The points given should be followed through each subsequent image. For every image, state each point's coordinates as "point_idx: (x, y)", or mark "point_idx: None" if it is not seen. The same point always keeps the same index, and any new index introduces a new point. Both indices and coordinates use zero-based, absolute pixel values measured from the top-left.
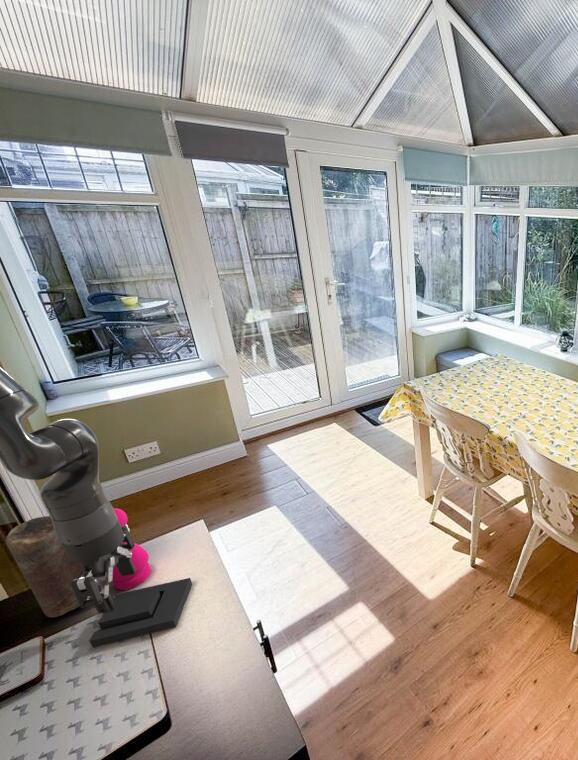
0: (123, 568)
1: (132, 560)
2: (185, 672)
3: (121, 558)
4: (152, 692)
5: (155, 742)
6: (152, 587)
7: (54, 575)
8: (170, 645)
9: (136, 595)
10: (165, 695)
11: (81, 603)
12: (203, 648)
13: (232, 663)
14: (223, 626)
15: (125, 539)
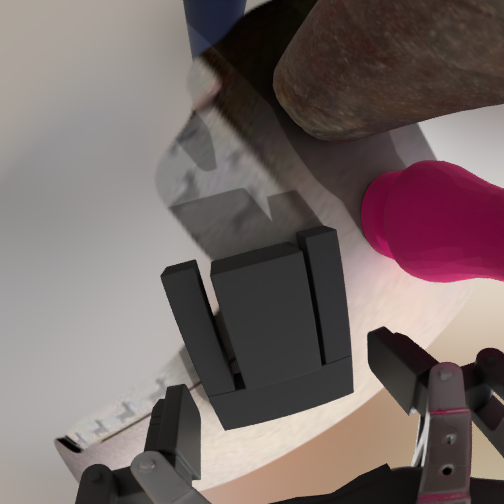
0: (389, 367)
1: (438, 276)
2: (137, 453)
3: (426, 405)
4: (100, 427)
5: (59, 443)
6: (343, 326)
7: (381, 52)
8: None
9: (313, 321)
10: (102, 441)
11: (82, 497)
12: None
13: None
14: (223, 468)
15: (500, 444)
